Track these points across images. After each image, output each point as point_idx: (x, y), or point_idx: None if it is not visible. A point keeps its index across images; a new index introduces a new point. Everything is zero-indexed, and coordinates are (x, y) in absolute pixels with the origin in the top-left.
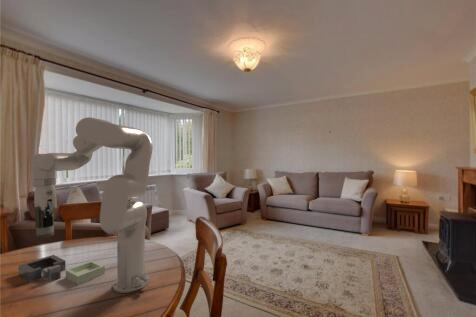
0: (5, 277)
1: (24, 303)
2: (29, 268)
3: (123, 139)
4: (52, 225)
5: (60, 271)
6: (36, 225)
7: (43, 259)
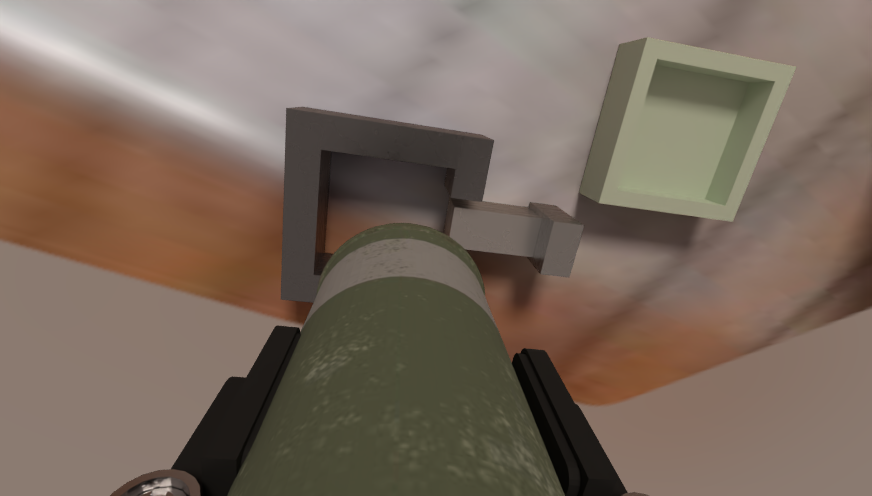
0: (269, 312)
1: (611, 365)
2: None
3: None
4: (540, 351)
5: (569, 215)
6: None
7: (318, 188)
